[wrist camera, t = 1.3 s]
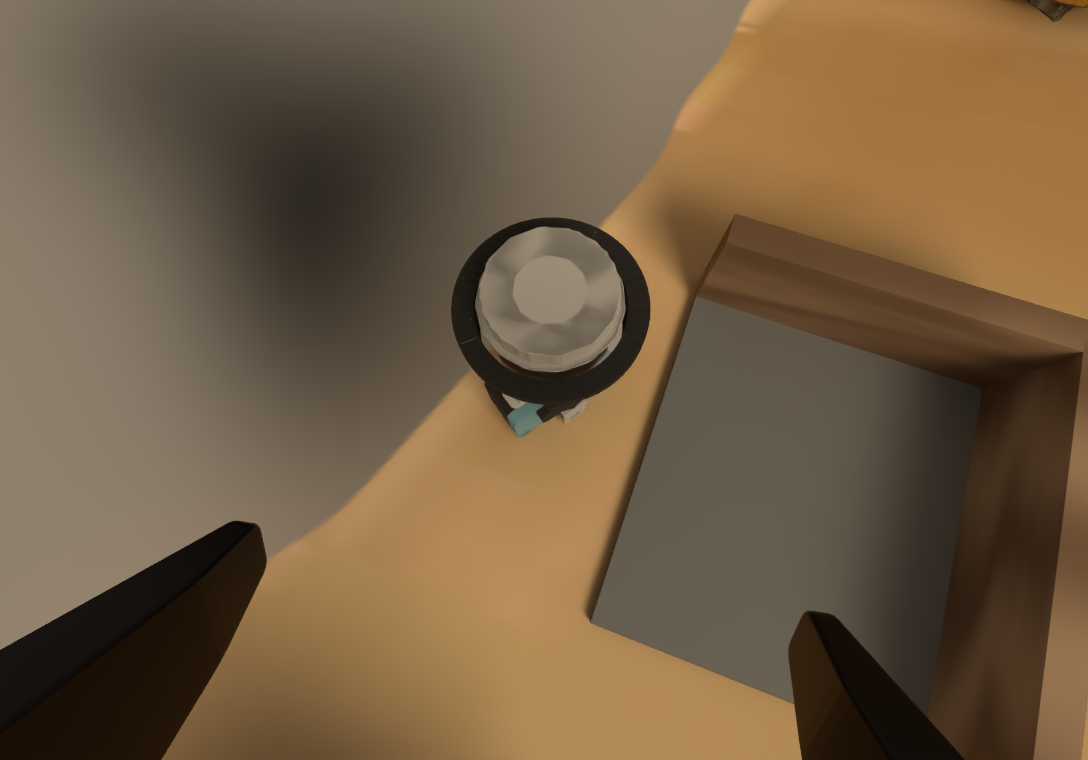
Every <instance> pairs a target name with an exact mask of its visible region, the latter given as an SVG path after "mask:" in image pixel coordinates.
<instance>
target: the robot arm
mask: <svg viewBox="0 0 1088 760" xmlns="http://www.w3.org/2000/svg"><path fill="white" fill-rule="evenodd" d="M266 563H267V557H266V552H265V547H264V543H263V538H262V533H261V529H260V527H259V526H258V525H257V524H255V523H249V522H243V521H232V522H229V523H227V524H225V525H224V526H222V527H220V528H218V529H217V530H215V531H213V532H211V533H209V534H207V535H206V536H204V537H202V538H200V539H198V540H197V541H195V542H193V543H192V544H190V545H188V546H186V547H184V548H182V549H181V550H179V551H177V552H175V553H173V554H172V555H170V556H168V557H166V558H164V559H163V560H161V561H159V562H157V563H155V564H154V565H152V566H150V567H148V568H146V569H145V570H143V571H141V572H139V573H137V574H136V575H134V576H132V577H130V578H129V579H127V580H125V581H123V582H121V583H120V584H118V585H116V586H114V587H113V588H111V589H109V590H107V591H105V592H103V593H102V594H100V595H98V596H96V597H94V598H93V599H91V600H89V601H87V602H85V603H84V604H82V605H80V606H78V607H77V608H75V609H73V610H71V611H70V612H67V613H66V614H64V615H62V616H60V617H59V618H57V619H55V620H53V621H51V622H50V623H48V624H46V625H44V626H42V627H41V628H39V629H37V630H35V631H33V632H32V633H30V634H28V635H26V636H25V637H23V638H21V639H19V640H17V641H15V642H14V643H12V644H10V645H8V646H7V647H5V648H3V649H1V650H0V760H161V759H162V758H163V756H164V754H165V753H166V751H167V750H168V748H169V746H170V745H171V743H172V741H173V740H174V738H175V736H176V735H177V733H178V731H179V730H180V728H181V726H182V725H183V723H184V722H185V720H186V718H187V717H188V715H189V713H190V712H191V710H192V708H193V707H194V705H195V703H196V702H197V700H198V699H199V697H200V695H201V694H202V692H203V690H204V689H205V687H206V685H207V684H208V682H209V680H210V679H211V677H212V675H213V674H214V672H215V670H216V669H217V667H218V665H219V663H220V662H221V660H222V658H223V656H224V654H225V652H226V650H227V648H228V647H229V645H230V642H231V640H232V638H233V636H234V634H235V632H236V630H237V628H238V626H239V624H240V622H241V620H242V618H243V615H244V613H245V611H246V609H247V607H248V605H249V603H250V601H251V599H252V597H253V595H254V593H255V590H256V588H257V586H258V584H259V582H260V580H261V578H262V576H263V574H264V571H265V568H266ZM788 659H789V667H790V675H791V682H792V690H793V698H794V705H795V713H796V720H797V728H798V736H799V743H800V750H801V756H802V760H966V759H965V758H964V757H963V756H962V755H961V754H960V753H959V751H958V750H957V749H956V748H955V747H954V746H953V745H952V744H951V743H950V742H949V740H948V739H947V738H946V737H945V736H944V735H943V734H942V733H941V732H940V731H939V729H938V728H937V727H936V726H935V725H934V724H933V723H932V722H931V721H930V720H929V718H928V717H927V716H926V715H925V714H924V713H923V712H922V711H921V710H920V709H919V707H918V706H917V705H916V704H915V703H914V702H913V701H912V700H911V699H910V697H909V696H908V695H907V694H906V693H905V692H904V691H903V690H902V689H901V688H900V686H899V685H898V684H897V683H896V682H895V681H894V680H893V679H892V678H891V677H890V675H889V674H888V673H887V672H886V671H885V670H884V669H883V668H882V667H881V666H880V664H879V663H878V662H877V661H876V660H875V659H874V658H873V657H872V656H871V655H870V653H869V652H868V651H867V650H866V649H865V648H864V647H863V646H862V645H861V644H860V642H859V641H858V640H857V639H856V638H855V637H854V636H853V635H852V634H851V633H850V631H849V630H848V629H847V628H846V627H845V626H844V625H843V624H842V623H841V621H840V620H839V619H838V618H837V617H835V616H834V615H832V614H830V613H824V612H818V611H811V610H809V611H806V612H804V613H803V615H802V617H801V619H800V621H799V623H798V625H797V627H796V630H795V632H794V634H793V636H792V638H791V640H790V643H789V648H788Z"/></svg>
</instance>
